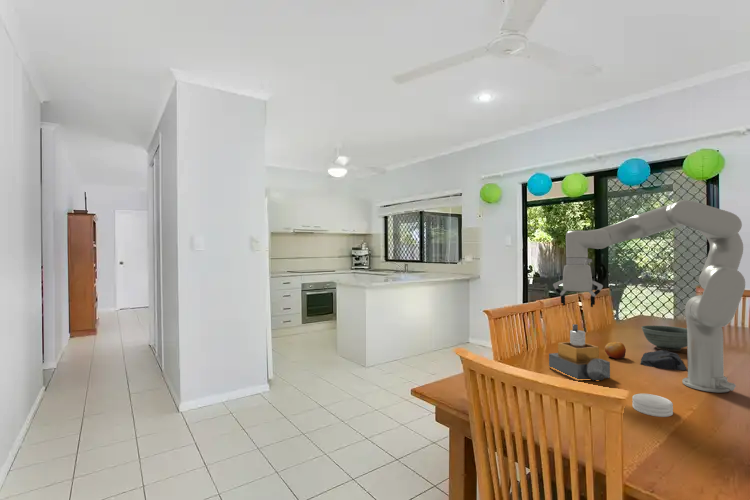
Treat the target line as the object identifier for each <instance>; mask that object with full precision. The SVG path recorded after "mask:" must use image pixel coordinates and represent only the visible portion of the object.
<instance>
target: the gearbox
mask: <svg viewBox="0 0 750 500" xmlns="http://www.w3.org/2000/svg"><path fill="white" fill-rule="evenodd" d="M557 351H558V352H554V353H553V352H552V353H551V352H550V353H548V367H549V366H550V367H553V368H555V369H557V370H559V371H561V372H563V373H565V374H567V375H570V376H572V377H575V378H577V379H592V380H591V381H594V380H601V381H602V380H604V378H605V379H610V378H611V362H610V361H608V360H605V359H603V358H600V349H599V346H597V345H593V344H590V343H587V342H585V347H584V348H575V347H572V346H570V341H566V342H565V341H564V342H558V343H557Z"/></svg>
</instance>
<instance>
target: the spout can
mask: <svg viewBox="0 0 750 500" xmlns="http://www.w3.org/2000/svg"><path fill="white" fill-rule="evenodd" d="M578 325H579V324H578V323H577V324H574V323H573V324H572V329H571V330H569V342H570V346H572V347H575V348H584V347H585V343H586V331H584V330H578V327H579V326H578Z"/></svg>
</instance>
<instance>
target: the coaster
mask: <svg viewBox="0 0 750 500" xmlns="http://www.w3.org/2000/svg"><path fill="white" fill-rule="evenodd" d="M631 397H632V401H631V402H632V408H633V409H634V410H635V411H637V412H638V413H641V414H644V415H648V416H652V417H659V418H668V417H671V416H673V414H674V411H673V410H674V407H673V406H674V404H673V402H672V401H671V400H670V399H668V398H666V397H663V396H660V395H656V394H650V393H637V394H636V393H635V394H634V395H632V396H631Z"/></svg>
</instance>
